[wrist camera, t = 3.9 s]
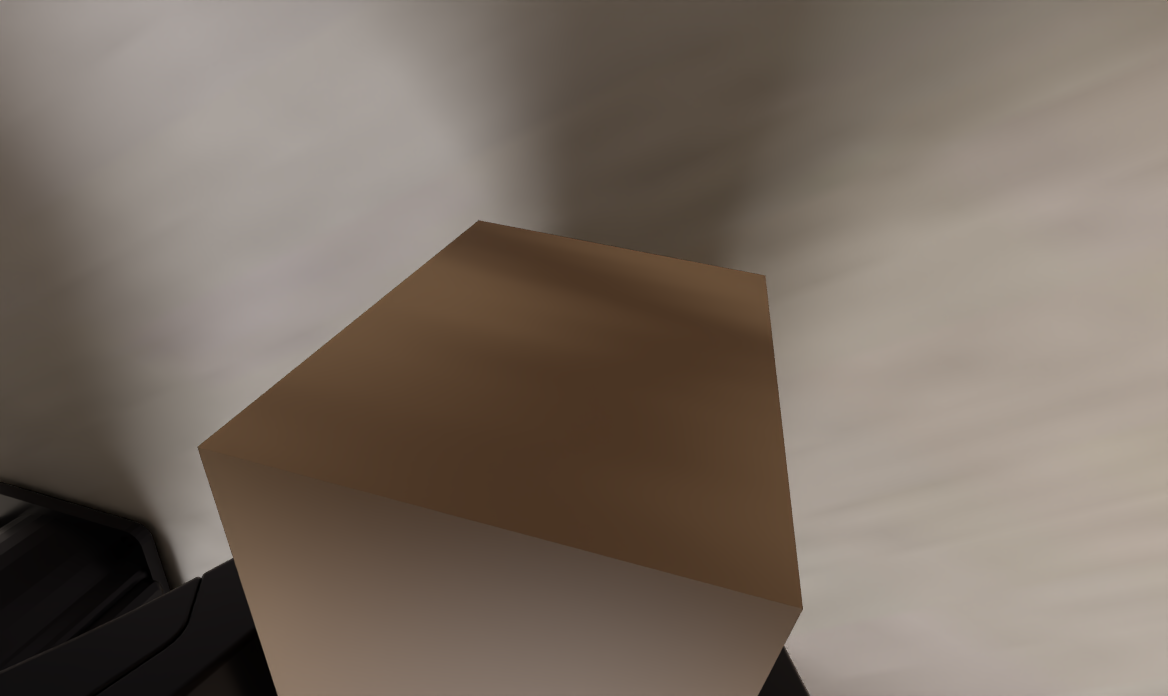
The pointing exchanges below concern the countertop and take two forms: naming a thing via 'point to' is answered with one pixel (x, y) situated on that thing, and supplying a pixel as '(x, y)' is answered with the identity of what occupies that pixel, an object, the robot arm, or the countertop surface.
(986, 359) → the countertop surface
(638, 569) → the light brown long block
